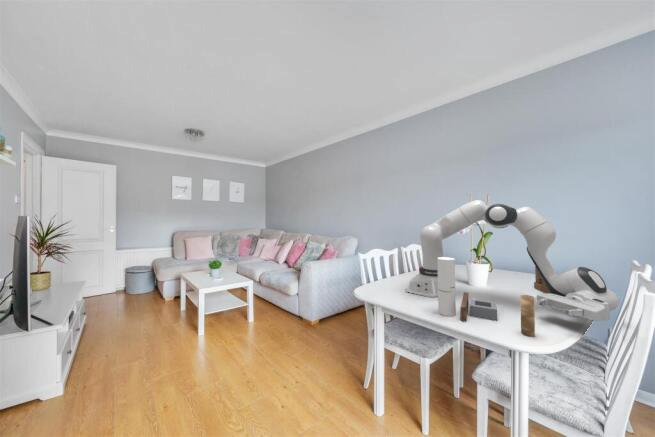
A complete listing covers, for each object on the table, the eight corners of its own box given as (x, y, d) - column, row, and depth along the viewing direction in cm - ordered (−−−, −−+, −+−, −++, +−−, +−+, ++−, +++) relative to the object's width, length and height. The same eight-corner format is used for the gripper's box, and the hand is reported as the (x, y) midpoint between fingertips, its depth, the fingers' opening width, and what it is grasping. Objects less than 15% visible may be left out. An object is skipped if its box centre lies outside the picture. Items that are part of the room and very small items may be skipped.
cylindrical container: (459, 315, 110) (458, 259, 110) (446, 317, 108) (445, 260, 108) (447, 309, 117) (446, 256, 117) (434, 311, 115) (433, 257, 115)
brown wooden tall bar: (521, 335, 91) (521, 297, 91) (520, 330, 95) (519, 294, 94) (535, 337, 89) (535, 299, 89) (533, 333, 93) (533, 295, 92)
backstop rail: (460, 320, 104) (460, 306, 104) (464, 304, 123) (463, 292, 123) (466, 321, 103) (466, 307, 103) (468, 304, 122) (468, 292, 122)
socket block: (469, 316, 109) (469, 305, 109) (470, 309, 117) (470, 298, 117) (497, 321, 103) (497, 309, 103) (496, 313, 112) (496, 302, 112)
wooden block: (545, 293, 135) (545, 260, 135) (533, 288, 146) (533, 257, 145) (553, 294, 134) (553, 261, 134) (541, 288, 145) (540, 257, 144)
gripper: (550, 288, 108) (525, 291, 104) (614, 304, 88) (585, 309, 85) (551, 302, 108) (525, 306, 105) (614, 322, 88) (586, 327, 85)
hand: (553, 307), depth 94 cm, fingers open, 8 cm apart
